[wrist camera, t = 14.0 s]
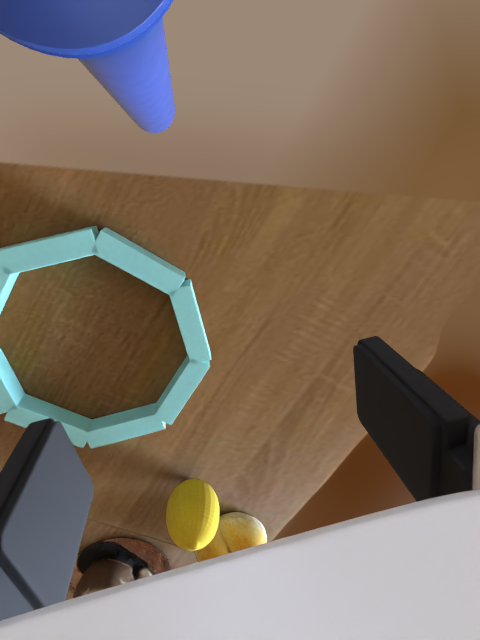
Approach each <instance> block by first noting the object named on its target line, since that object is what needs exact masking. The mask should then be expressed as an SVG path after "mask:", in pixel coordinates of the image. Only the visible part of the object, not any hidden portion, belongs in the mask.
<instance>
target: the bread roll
mask: <svg viewBox="0 0 480 640" xmlns="http://www.w3.org/2000/svg"><path fill="white" fill-rule="evenodd" d="M264 543H267V536H266V532H265V529H264V526H263V525H262V524H261V522H260V521H259V520H257V519H256V518H255V517H252V516H250V515H247V514H244V513H241V512H232V513H227V514H224V515H221V516H220V517H219V523H218V528H217V531H216V533H215V536H214V537H213V539H212V540H211V541H210V542H209V544H207V545H206V546H205V547H203V548H201V549H199V550H195V555H196V559H197V561H198V562H201V561H204V560H208V559H211V558H215V557H218V556H222V555H225V554H229V553H232V552H236V551H239V550H243V549H247V548H250V547H254V546H257V545H261V544H264Z"/></svg>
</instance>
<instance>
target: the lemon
mask: <svg viewBox="0 0 480 640" xmlns="http://www.w3.org/2000/svg"><path fill="white" fill-rule="evenodd" d="M166 521H167V527H168V531H169V535H170V537H171V538H172V540H173V542H174V543H175V544H176V545H177V546H179V547H180V548H182V549H184V550H188V551H195V550H199V549H201V548H203V547H205V546H206V545H207V544H209V542H210V541H211V540H212V539H213V537H214V536H215V533H216V531H217V528H218V523H219V503H218V499H217V496H216V494H215V492H214V490H213V489H212V487H211V486H210V485H209V484H208V483H206V482H205V481H202V480H199V479H189V480H186V481H183V482H182V483H180V484H179V485H178V486H177V487H176V488H175V489H174V490H173V492H172V494H171V495H170V497H169V500H168V504H167V510H166Z"/></svg>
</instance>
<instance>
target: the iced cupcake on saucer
mask: <svg viewBox="0 0 480 640" xmlns="http://www.w3.org/2000/svg"><path fill="white" fill-rule="evenodd" d="M161 552H162V551H161ZM161 552H160V550H158V549H156V547H154V546H152V545H151V544H147V542H146V543H145V541H144V542H143V541H141V540H137V539H127V538H118V539H116V538H114V539H109V540H108V539H107V540H104V541H100V542H97V543H94V544H92V545H90V546H88V547H87V548H85V549H84V550H83V551H82V552H81V553H80V554H79V555H78V556H77V558H76V562H75V566H74V570H73V573H72V577H71V582H72V584H73V586H74V588H75V592H74V596H73V598H76V597H80V596H83V595H87V594H90V593H93V592H97V591H100V590H104V589H107V588H111V587H114V586H118V585H121V584H124V583H128V582H131V581H135V580H138V579H142V578H145V577H149V576H152V575H155V574H159V573H162V572H166V571H169V570H170V566H169V563H168V559H166V557H165V556H164V555H163V553H161Z"/></svg>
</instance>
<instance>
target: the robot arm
mask: <svg viewBox="0 0 480 640" xmlns="http://www.w3.org/2000/svg"><path fill="white" fill-rule="evenodd" d="M353 354H354V369H355V385H356V401H357V413H358V417H359V420H360V422H361V423H362V425H363V426H364V428H365V429H366V430H367V432H368V433H369V435H370V436H371V438H372V439H373V440H374V442H375V443H376V444H377V446H378V447H379V449H380V450H381V452H382V453H383V455H384V456H385V457H386V459H387V460H388V462H389V463H390V464H391V466H392V467H393V469H394V470H395V471H396V473H397V474H398V476H399V477H400V478H401V480H402V481H403V483H404V484H405V486H406V487H407V489H408V490H409V491H410V493H411V494H412V495H413V497H414V498H415V500H416V501H417V502H414V503H410V504H407V505H403V506H399V507H395V508H391V509H388V510H383V511H380V512H376V513H372V514H368V515H365V516H361V517H357V518H354V519H350V520H347V521H343V522H339V523H336V524H332V525H329V526H325V527H322V528H318V529H314V530H311V531H307V532H303V533H300V534H297V535H293V536H289V537H285V538H282V539H278V540H275V541H271V542H268V543H264V544H261V545H257V546H254V547H250V548H247V549H243V550H239V551H236V552H232V553H229V554H225V555H222V556H218V557H215V558H211V559H208V560H204V561H201V562H197V563H194V564H190V565H187V566H183V567H180V568H176V569H173V570H169V571H166V572H162V573H159V574H155V575H152V576H149V577H145V578H142V579H138V580H135V581H131V582H128V583H124V584H121V585H118V586H114V587H111V588H107V589H104V590H100V591H97V592H93V593H90V594H87V595H83V596H80V597H76V598H73V599H69V600H66V596H67V592H68V588H69V585H70V581H71V577H72V573H73V570H74V566H75V562H76V558H77V554H78V551H79V547H80V543H81V539H82V536H83V532H84V528H85V524H86V521H87V517H88V513H89V509H90V505H91V502H92V498H93V494H94V487H93V483H92V480H91V478H90V477H89V475H88V473H87V471H86V469H85V467H84V465H83V463H82V461H81V459H80V457H79V456H78V454H77V452H76V450H75V448H74V446H73V444H72V442H71V440H70V438H69V436H68V434H67V433H66V431H65V429H64V427H63V425H62V423H61V422H60V421H55V420H54V419H52V418H48V419H44V420H40V421H36V422H32V423H30V424H29V425H28V427H27V428H26V430H25V432H24V433H23V435H22V437H21V438H20V440H19V442H18V444H17V445H16V447H15V449H14V450H13V452H12V454H11V455H10V457H9V459H8V461H7V462H6V464H5V466H4V467H3V469H2V471H1V472H0V640H480V421H479V420H478V419H477V418H476V417H474V416H473V415H472V414H471V413H470V412H468V411H467V410H466V409H464V407H463V406H461V405H460V404H459V403H458V402H457V401H456V400H454V399H453V398H452V397H451V396H450V395H448V394H447V393H446V392H445V391H444V390H442V389H441V388H440V387H439V386H438V385H437V384H435V383H434V382H433V381H432V380H431V379H430V378H428V377H427V376H426V375H425V374H424V373H423V372H421V371H420V370H418V369H416V368H414V367H413V366H412V365H411V364H410V363H409V362H407V361H406V360H405V359H404V358H403V357H402V356H400V355H399V354H398V353H397V352H396V351H395V350H393V349H392V348H391V347H390V346H389V345H388V344H386V343H385V342H384V341H383V340H382V339H381V338H379V337H378V336H374V337H370V338H366V339H362V340H359V341H358V345H357V346H354V348H353ZM65 600H66V601H65Z"/></svg>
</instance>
